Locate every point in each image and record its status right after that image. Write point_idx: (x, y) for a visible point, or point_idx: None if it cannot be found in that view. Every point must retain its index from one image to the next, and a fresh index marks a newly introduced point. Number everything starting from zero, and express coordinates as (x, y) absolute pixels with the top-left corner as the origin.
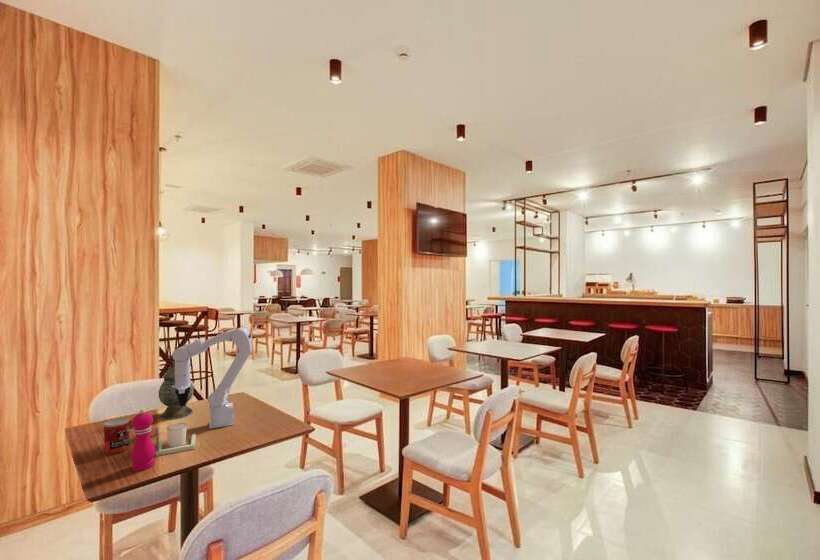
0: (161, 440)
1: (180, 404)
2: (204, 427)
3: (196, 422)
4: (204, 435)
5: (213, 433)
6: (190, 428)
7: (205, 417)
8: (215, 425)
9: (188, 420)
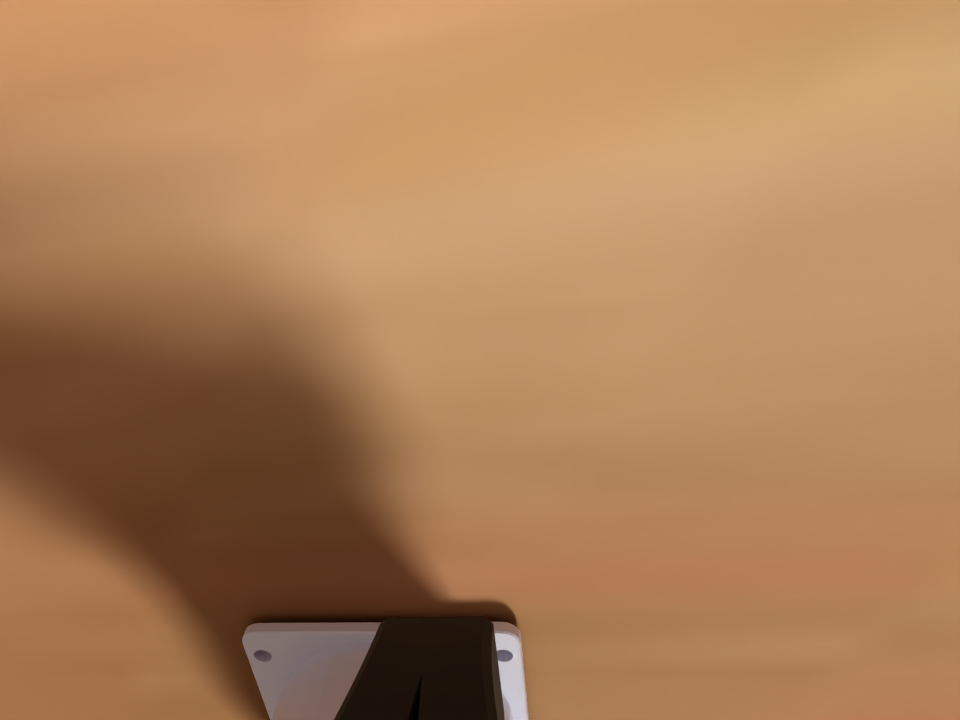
0: None
1: (363, 679)
2: (346, 569)
3: (651, 468)
4: (21, 577)
5: (78, 652)
6: (372, 409)
7: (847, 567)
8: (277, 698)
9: (863, 344)
